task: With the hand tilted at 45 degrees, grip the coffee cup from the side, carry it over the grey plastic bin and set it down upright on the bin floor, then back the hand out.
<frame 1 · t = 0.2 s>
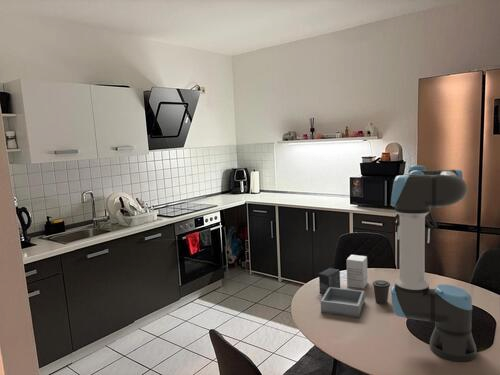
hand: (413, 240, 185), 27 cm above the table, tool pointing down, fingers open, 13 cm apart
supplement box: (357, 284, 204), on the table
coffee cup: (381, 302, 182), on the table
small box: (330, 291, 198), on the table
bin: (343, 307, 179), on the table
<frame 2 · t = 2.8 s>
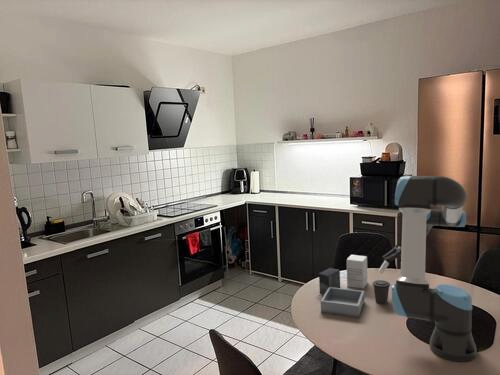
hand: (390, 276, 184), 11 cm above the table, tool tilted 45°, fingers open, 13 cm apart
nothing on the table moved.
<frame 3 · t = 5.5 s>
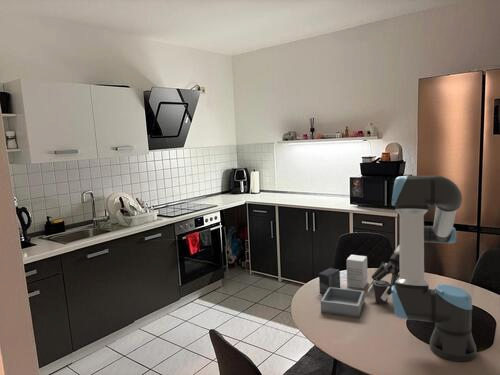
hand: (376, 296, 180), 4 cm above the table, tool tilted 45°, fingers closed on coffee cup, 8 cm apart
coffee cup: (381, 302, 182), on the table, touching gripper
everything else where it was.
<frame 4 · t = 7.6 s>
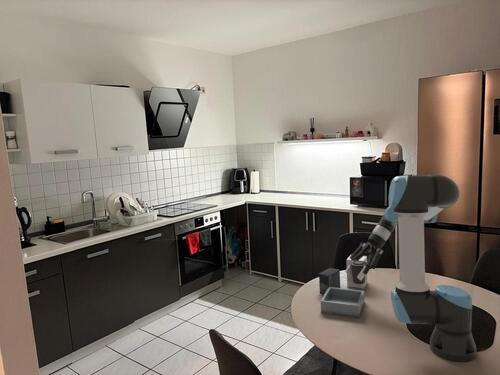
hand: (352, 276, 178), 14 cm above the table, tool tilted 45°, fingers closed on coffee cup, 8 cm apart
coffee cup: (359, 282, 180), point 10 cm above the table, touching gripper
everything else where it was.
when the fingers open (6 cm above the table, at t = 10.2 s): coffee cup drops 1 cm, resting on bin.
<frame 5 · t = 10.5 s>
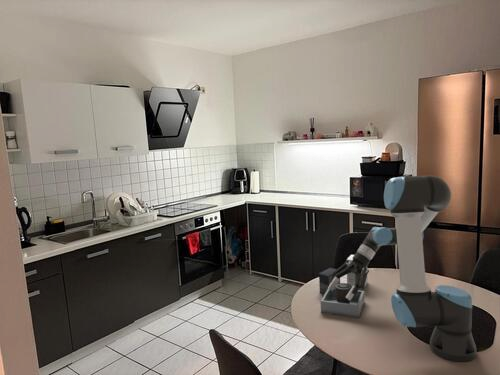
hand: (338, 294, 177), 7 cm above the table, tool tilted 45°, fingers open, 12 cm apart
coffee cup: (343, 305, 178), point 1 cm above the table, touching bin
everything else where it was.
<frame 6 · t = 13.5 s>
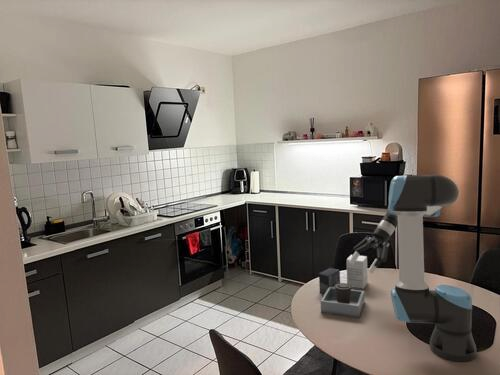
hand: (360, 267, 181), 17 cm above the table, tool tilted 45°, fingers open, 13 cm apart
nothing on the table moved.
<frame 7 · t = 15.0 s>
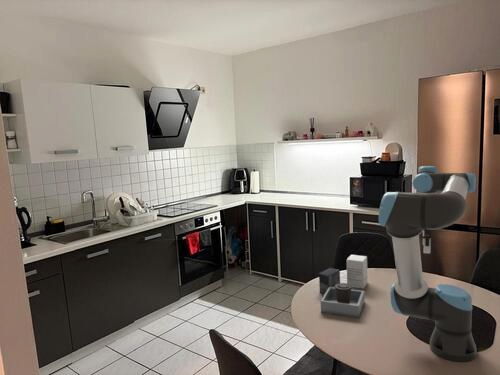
hand: (426, 248, 169), 28 cm above the table, tool pointing down, fingers open, 13 cm apart
nothing on the table moved.
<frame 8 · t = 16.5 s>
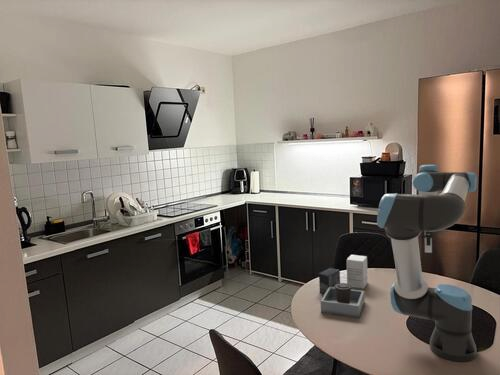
hand: (428, 247, 168), 29 cm above the table, tool pointing down, fingers open, 13 cm apart
nothing on the table moved.
at the end: coffee cup inside the target area on the bin (0.2 cm from its centre), point 0.8 cm above the bin's base; coffee cup tilted 0°; the gripper is holding nothing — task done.
